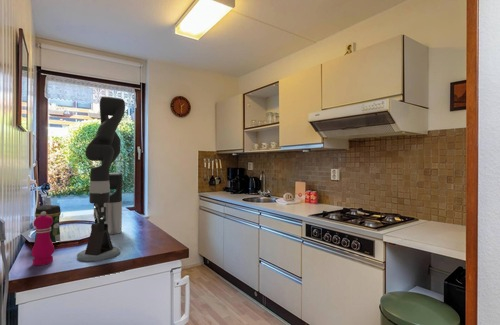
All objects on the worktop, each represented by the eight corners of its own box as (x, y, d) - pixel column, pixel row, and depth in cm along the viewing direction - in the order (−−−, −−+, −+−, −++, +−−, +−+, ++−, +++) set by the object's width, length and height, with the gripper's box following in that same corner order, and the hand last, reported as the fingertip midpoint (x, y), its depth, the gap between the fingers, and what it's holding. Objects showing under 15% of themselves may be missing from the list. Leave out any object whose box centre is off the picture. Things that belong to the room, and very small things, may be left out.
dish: (75, 253, 117) (75, 250, 117) (115, 246, 127) (115, 243, 127) (79, 264, 104) (79, 261, 104) (124, 256, 114) (124, 253, 114)
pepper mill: (39, 259, 110) (40, 209, 110) (58, 259, 110) (59, 209, 110) (26, 266, 102) (26, 213, 102) (46, 265, 103) (47, 213, 103)
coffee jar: (30, 246, 126) (31, 206, 126) (44, 241, 134) (45, 203, 134) (51, 246, 126) (51, 206, 125) (63, 241, 133) (64, 204, 133)
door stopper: (96, 255, 111) (96, 226, 111) (84, 254, 112) (85, 225, 112) (113, 249, 119) (113, 221, 119) (102, 247, 121) (102, 220, 121)
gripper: (87, 190, 119) (86, 227, 119) (92, 193, 108) (91, 234, 108) (106, 189, 123) (106, 225, 124) (113, 192, 112) (112, 231, 112)
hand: (99, 229), depth 116 cm, fingers open, 8 cm apart
